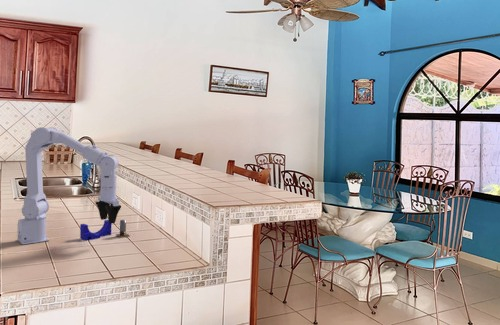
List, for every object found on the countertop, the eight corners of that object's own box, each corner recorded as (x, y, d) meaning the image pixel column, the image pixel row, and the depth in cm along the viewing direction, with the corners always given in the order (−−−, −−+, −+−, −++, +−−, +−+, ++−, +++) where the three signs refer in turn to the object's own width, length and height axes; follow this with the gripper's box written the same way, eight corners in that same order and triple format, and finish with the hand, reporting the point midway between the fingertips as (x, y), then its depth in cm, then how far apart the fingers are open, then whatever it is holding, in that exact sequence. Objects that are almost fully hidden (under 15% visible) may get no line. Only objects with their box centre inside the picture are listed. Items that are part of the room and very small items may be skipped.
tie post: (120, 237, 163) (120, 222, 163) (116, 235, 166) (116, 220, 166) (129, 236, 166) (129, 220, 165) (125, 234, 169) (125, 218, 168)
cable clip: (85, 241, 157) (86, 226, 156) (80, 238, 160) (80, 224, 159) (113, 235, 166) (113, 221, 166) (107, 233, 169) (107, 219, 168)
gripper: (126, 188, 152) (125, 223, 153) (110, 183, 162) (109, 216, 163) (108, 190, 147) (108, 226, 148) (93, 184, 157) (92, 218, 159)
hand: (107, 221), depth 155 cm, fingers open, 7 cm apart
